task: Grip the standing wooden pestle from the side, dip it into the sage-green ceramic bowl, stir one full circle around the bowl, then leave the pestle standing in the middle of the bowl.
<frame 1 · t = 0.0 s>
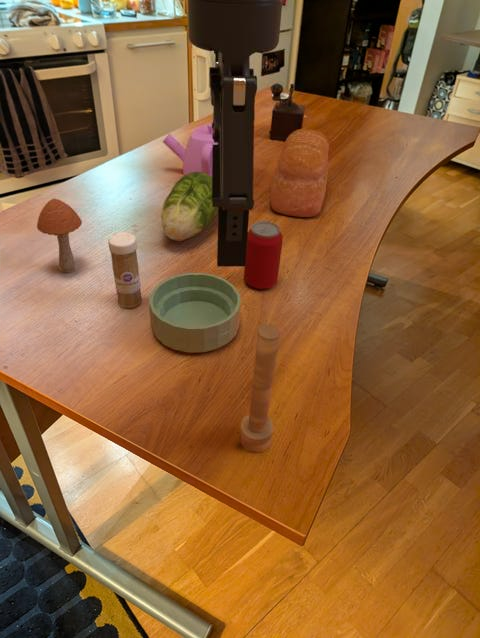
hand: (226, 229, 50), 29 cm above the table, tool pointing down, fingers open, 13 cm apart
teapot: (207, 176, 130), on the table
lettuce: (189, 231, 106), on the table
beverage can: (260, 282, 92), on the table
bowl: (195, 325, 81), on the table
sprinkles bottle: (130, 302, 85), on the table
wooden pestle: (255, 438, 64), on the table
coffee grinder: (284, 139, 157), on the table
bread: (298, 196, 123), on the table
mushroom: (69, 269, 92), on the table
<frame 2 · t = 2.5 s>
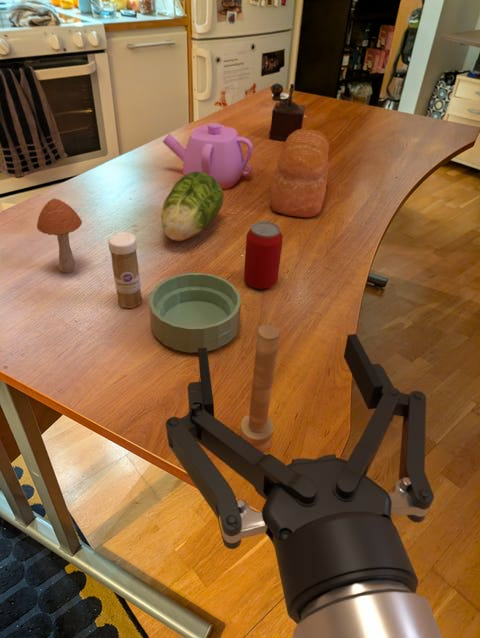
hand: (277, 351, 42), 24 cm above the table, tool horizontal, fingers open, 13 cm apart
nothing on the table moved.
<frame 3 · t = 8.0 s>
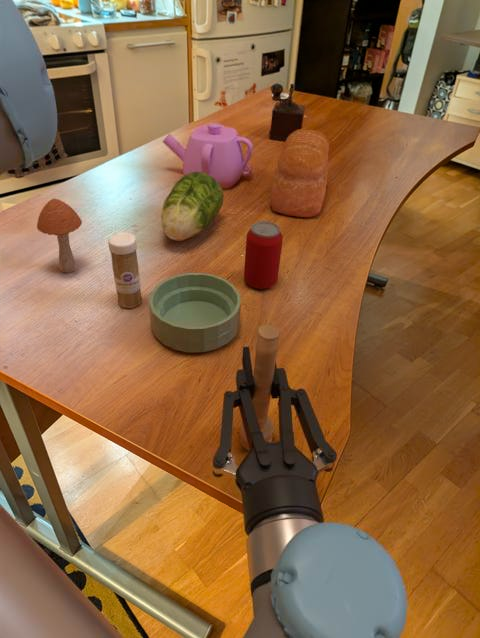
hand: (257, 354, 61), 11 cm above the table, tool horizontal, fingers closed on wooden pestle, 2 cm apart
wooden pestle: (255, 438, 64), on the table, touching gripper
everything else where it was.
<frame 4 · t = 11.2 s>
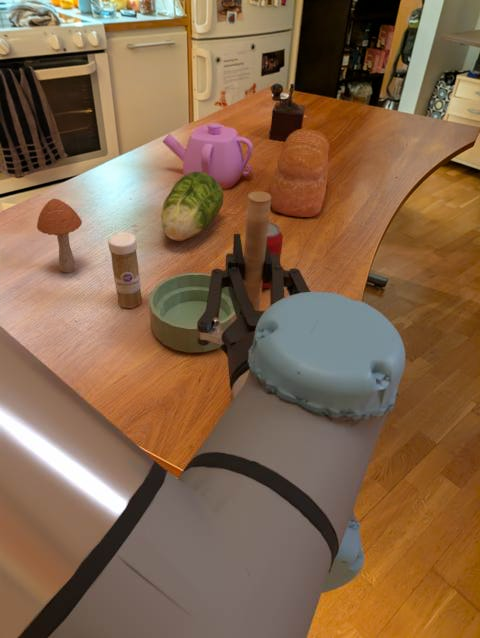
hand: (248, 243, 57), 24 cm above the table, tool horizontal, fingers closed on wooden pestle, 2 cm apart
wooden pestle: (247, 338, 60), point 13 cm above the table, touching gripper
everything else where it was.
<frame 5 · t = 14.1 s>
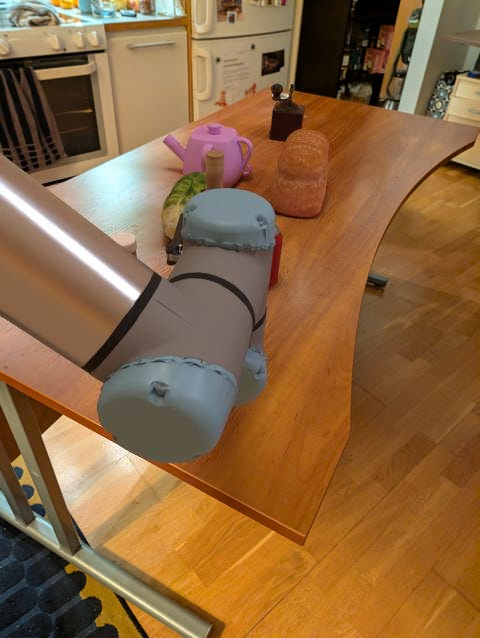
hand: (212, 197, 71), 22 cm above the table, tool horizontal, fingers closed on wooden pestle, 2 cm apart
wooden pestle: (213, 276, 74), point 11 cm above the table, touching gripper
everything else where it was.
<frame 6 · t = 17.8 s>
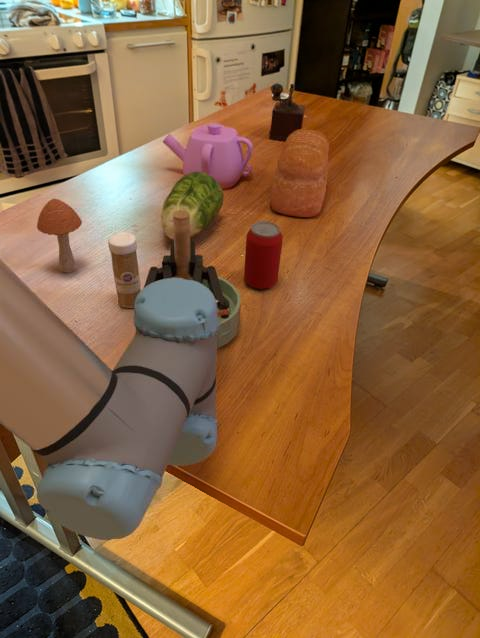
hand: (183, 247, 76), 13 cm above the table, tool horizontal, fingers closed on wooden pestle, 2 cm apart
wooden pestle: (184, 320, 79), point 2 cm above the table, touching gripper
everything else where it was.
when the fingers open (12 cm above the table, at t = 20.3 s): wooden pestle stays where it is, resting on bowl.
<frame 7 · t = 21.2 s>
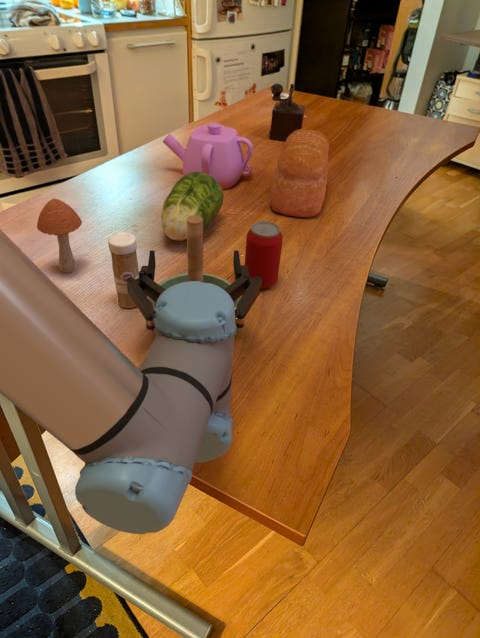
hand: (194, 257, 76), 12 cm above the table, tool horizontal, fingers open, 13 cm apart
wooden pestle: (196, 322, 80), point 1 cm above the table, touching bowl
everything else where it was.
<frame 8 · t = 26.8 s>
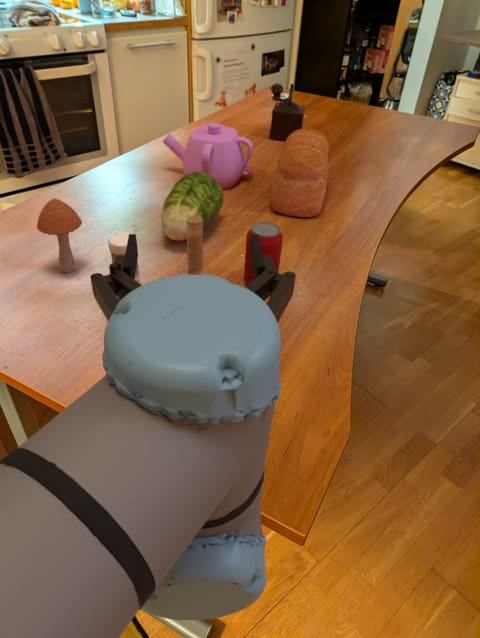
hand: (194, 244, 52), 26 cm above the table, tool horizontal, fingers open, 13 cm apart
nothing on the table moved.
at the end: wooden pestle 0.1 cm off-centre in the bowl, point 0.8 cm above the bowl's base; wooden pestle tilted 0°; the gripper is holding nothing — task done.
